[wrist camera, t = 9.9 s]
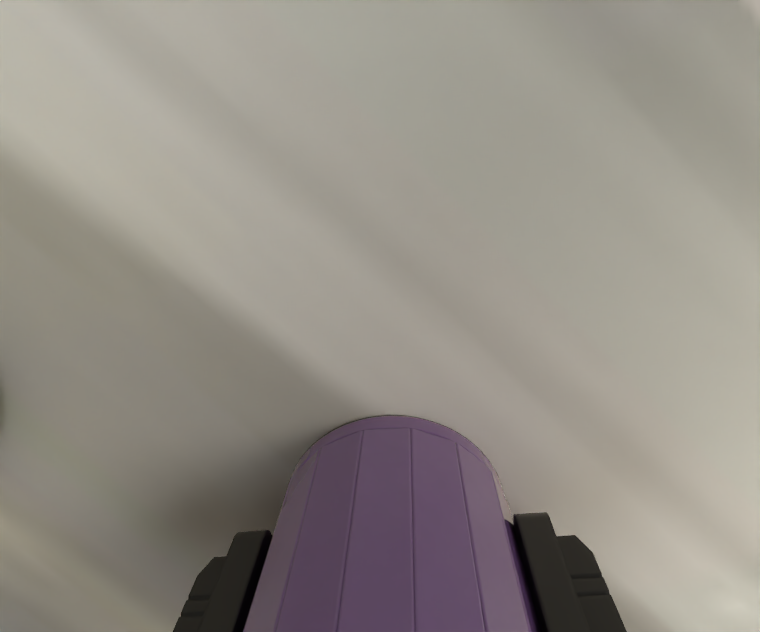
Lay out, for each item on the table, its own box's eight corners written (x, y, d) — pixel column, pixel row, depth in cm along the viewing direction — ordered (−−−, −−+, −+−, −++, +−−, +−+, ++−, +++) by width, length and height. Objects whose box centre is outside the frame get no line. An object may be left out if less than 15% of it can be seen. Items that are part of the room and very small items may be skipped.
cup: (449, 379, 13) (486, 590, 7) (536, 551, 14) (623, 834, 9) (246, 464, 14) (137, 708, 8) (349, 616, 15) (318, 904, 10)
